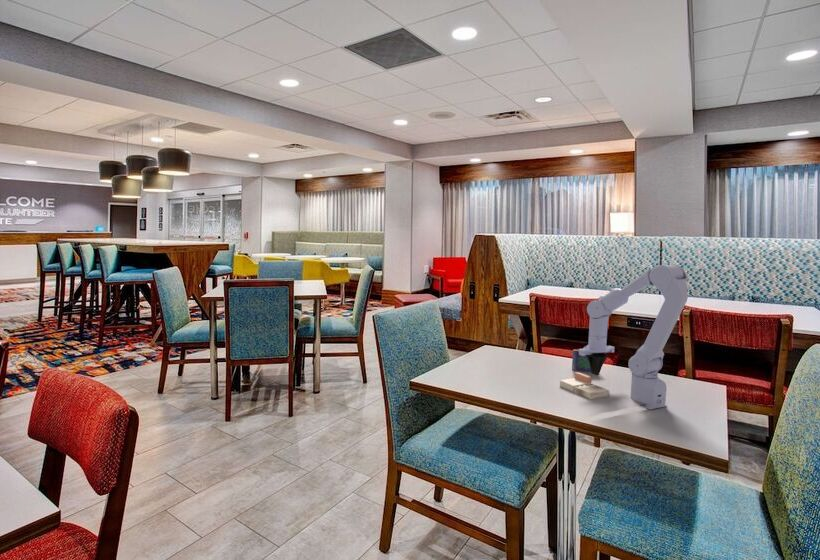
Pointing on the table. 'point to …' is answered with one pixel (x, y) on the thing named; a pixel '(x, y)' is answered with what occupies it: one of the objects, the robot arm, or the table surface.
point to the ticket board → (591, 391)
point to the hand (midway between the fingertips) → (595, 374)
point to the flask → (580, 362)
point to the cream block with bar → (576, 381)
